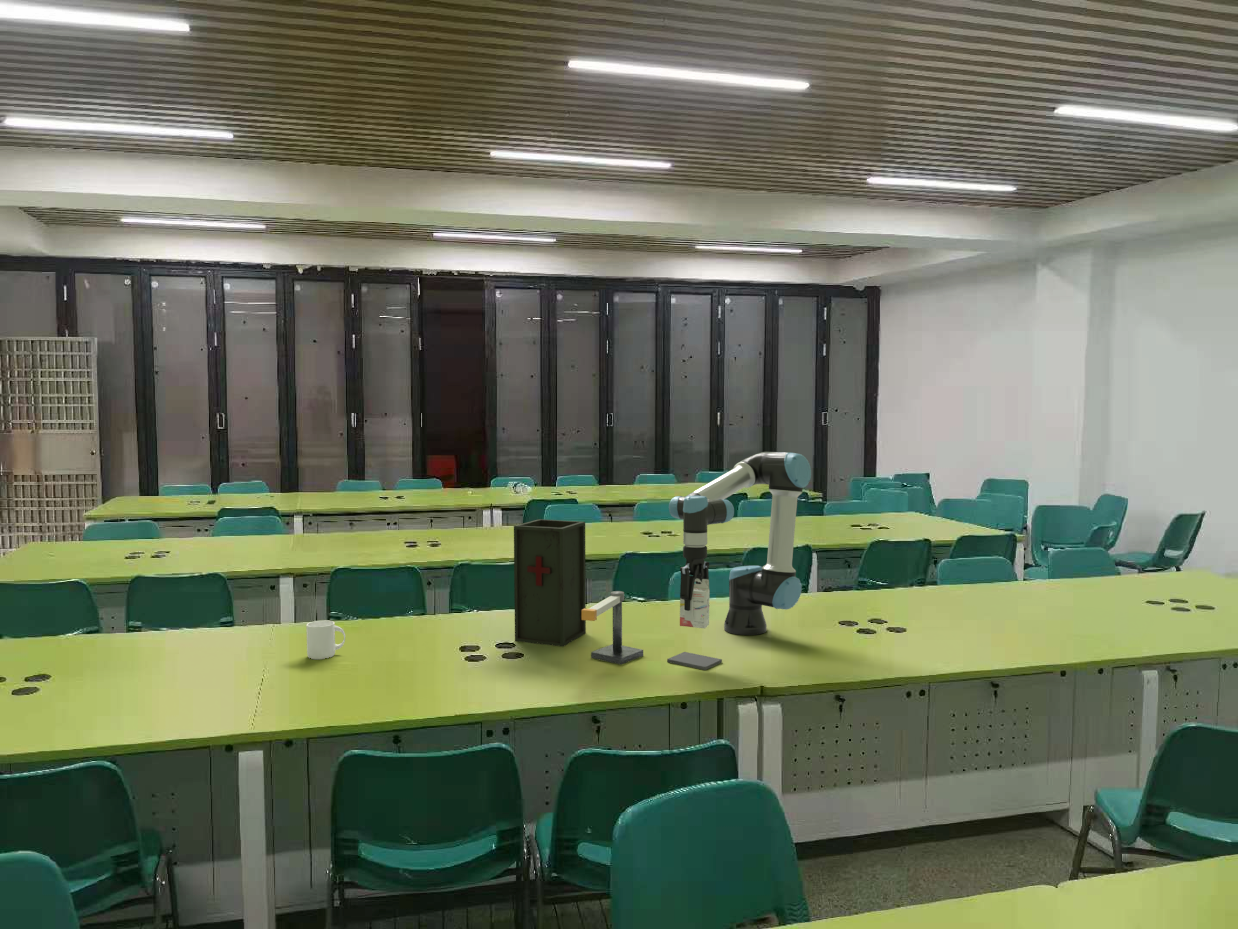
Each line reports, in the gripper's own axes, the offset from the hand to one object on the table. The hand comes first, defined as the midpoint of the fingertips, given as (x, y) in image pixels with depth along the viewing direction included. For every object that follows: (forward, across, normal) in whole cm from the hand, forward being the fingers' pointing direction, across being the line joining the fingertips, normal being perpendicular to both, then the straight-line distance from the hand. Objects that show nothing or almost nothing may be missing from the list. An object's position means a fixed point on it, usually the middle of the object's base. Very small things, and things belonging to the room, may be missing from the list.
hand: (694, 618), depth 270 cm
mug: (+15, +65, -100) cm, 120 cm away
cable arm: (-3, +21, -20) cm, 29 cm away
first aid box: (+14, +5, -56) cm, 58 cm away
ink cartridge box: (+3, 0, 0) cm, 3 cm away
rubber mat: (+14, 0, 0) cm, 14 cm away
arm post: (+14, +10, -23) cm, 29 cm away
